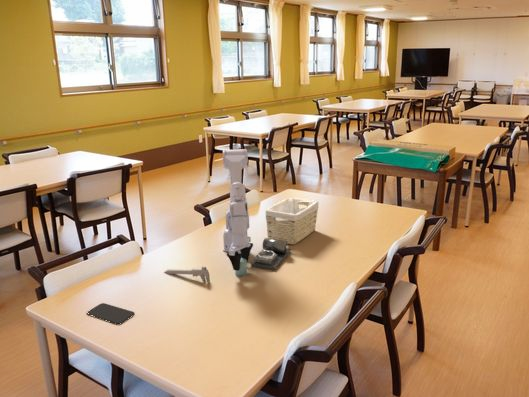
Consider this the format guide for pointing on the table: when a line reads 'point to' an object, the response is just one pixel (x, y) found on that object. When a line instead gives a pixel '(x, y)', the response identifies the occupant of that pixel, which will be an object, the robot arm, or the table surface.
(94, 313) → the phone
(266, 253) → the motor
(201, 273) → the caliper
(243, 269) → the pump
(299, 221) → the storage basket
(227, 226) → the robot arm
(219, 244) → the table surface
